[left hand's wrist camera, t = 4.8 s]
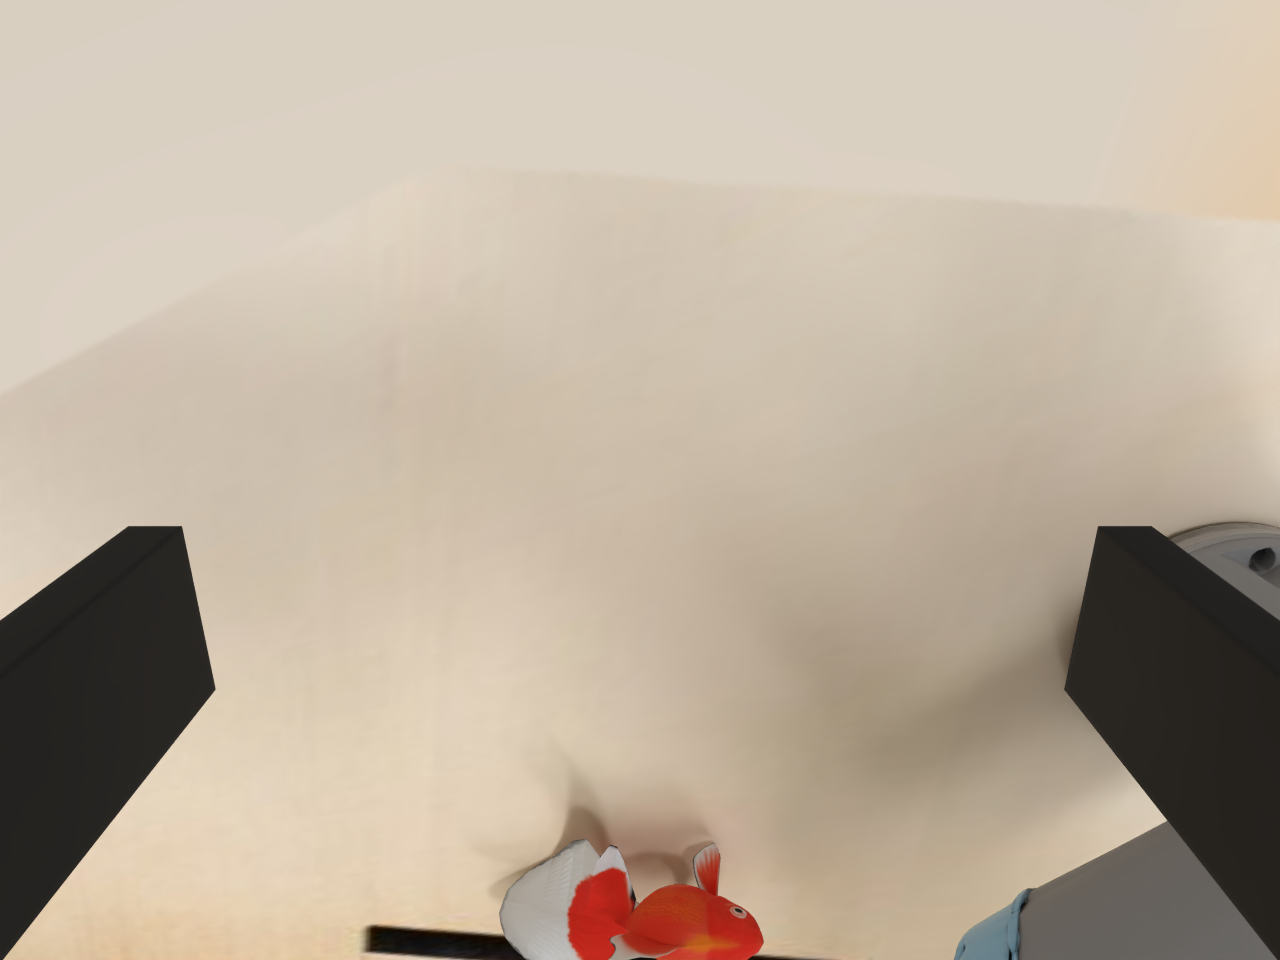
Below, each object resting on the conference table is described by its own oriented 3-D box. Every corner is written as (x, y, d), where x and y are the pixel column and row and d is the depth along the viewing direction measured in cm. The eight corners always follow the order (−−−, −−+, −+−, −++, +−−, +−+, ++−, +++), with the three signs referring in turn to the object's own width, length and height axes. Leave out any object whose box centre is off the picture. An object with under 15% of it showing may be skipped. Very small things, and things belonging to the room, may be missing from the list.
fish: (736, 1033, 54) (693, 1133, 45) (525, 915, 59) (447, 982, 50) (791, 872, 54) (759, 938, 44) (574, 768, 59) (504, 807, 50)
